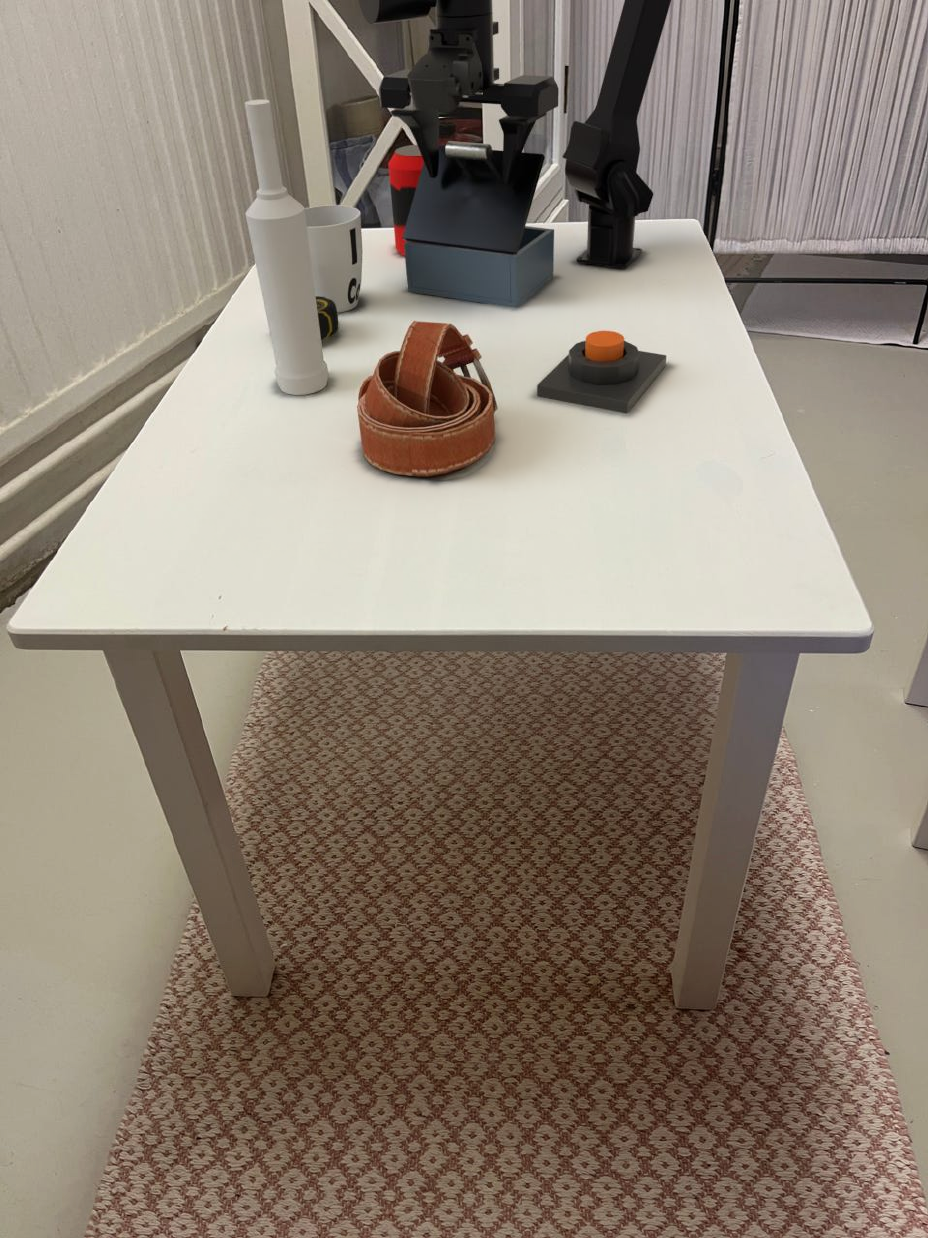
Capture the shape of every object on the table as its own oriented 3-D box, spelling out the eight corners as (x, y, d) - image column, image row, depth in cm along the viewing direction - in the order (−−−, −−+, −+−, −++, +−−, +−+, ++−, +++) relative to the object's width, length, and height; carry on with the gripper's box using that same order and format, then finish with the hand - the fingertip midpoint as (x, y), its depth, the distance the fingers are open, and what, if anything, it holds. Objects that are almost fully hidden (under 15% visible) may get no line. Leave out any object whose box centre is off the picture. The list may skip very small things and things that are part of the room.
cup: (366, 316, 105) (355, 225, 99) (295, 319, 105) (280, 228, 99) (373, 290, 111) (363, 203, 105) (306, 293, 112) (293, 206, 105)
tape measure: (329, 321, 105) (325, 288, 102) (348, 342, 100) (344, 308, 97) (270, 333, 103) (264, 299, 100) (287, 355, 98) (281, 321, 95)
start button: (593, 345, 90) (594, 327, 89) (628, 351, 89) (629, 333, 88) (579, 359, 88) (579, 342, 87) (615, 366, 86) (616, 348, 85)
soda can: (458, 254, 120) (454, 153, 112) (401, 261, 119) (392, 160, 111) (446, 237, 126) (440, 139, 118) (391, 243, 125) (382, 146, 117)
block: (581, 352, 95) (582, 323, 93) (665, 366, 92) (668, 337, 90) (536, 396, 88) (536, 367, 86) (626, 414, 84) (629, 383, 82)
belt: (530, 427, 83) (530, 318, 77) (450, 493, 75) (443, 378, 69) (406, 394, 89) (397, 291, 83) (320, 453, 81) (302, 343, 75)
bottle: (320, 397, 90) (275, 108, 74) (269, 394, 91) (215, 108, 75) (336, 374, 94) (297, 95, 78) (287, 371, 95) (239, 95, 79)
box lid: (430, 147, 107) (413, 124, 102) (545, 157, 101) (531, 132, 97) (404, 240, 107) (386, 221, 103) (517, 254, 102) (502, 235, 97)
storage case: (449, 263, 118) (446, 216, 114) (553, 277, 112) (554, 229, 108) (407, 291, 111) (403, 242, 107) (516, 308, 105) (516, 257, 102)
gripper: (341, 23, 91) (359, 192, 101) (513, 27, 84) (514, 209, 94) (400, 7, 98) (411, 166, 108) (562, 10, 91) (558, 180, 101)
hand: (470, 180), depth 103 cm, fingers open, 9 cm apart
